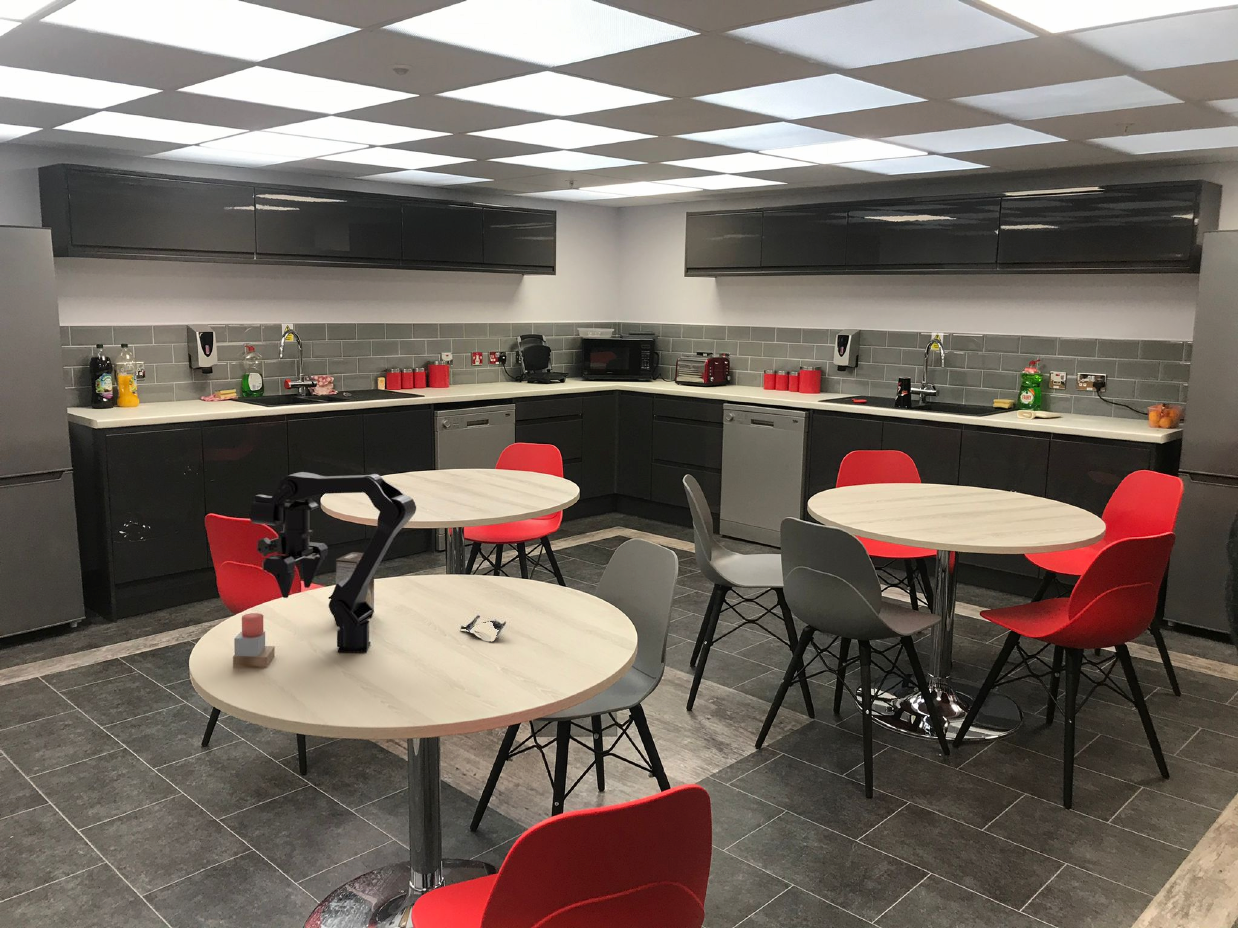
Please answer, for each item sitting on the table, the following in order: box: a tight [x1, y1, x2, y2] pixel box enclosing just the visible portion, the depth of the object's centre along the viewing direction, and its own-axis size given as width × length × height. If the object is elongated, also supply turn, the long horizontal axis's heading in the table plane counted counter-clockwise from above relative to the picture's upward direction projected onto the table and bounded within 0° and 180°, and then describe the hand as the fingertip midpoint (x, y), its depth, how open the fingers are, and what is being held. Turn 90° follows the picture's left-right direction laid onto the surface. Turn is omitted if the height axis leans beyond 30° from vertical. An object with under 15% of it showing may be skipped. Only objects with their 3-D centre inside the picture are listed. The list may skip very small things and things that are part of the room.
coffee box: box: [335, 551, 375, 611], centre depth 239 cm, size 9×6×16 cm
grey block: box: [233, 630, 266, 657], centre depth 203 cm, size 5×5×4 cm
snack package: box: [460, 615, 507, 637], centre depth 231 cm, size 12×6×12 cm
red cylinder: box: [241, 612, 264, 637], centre depth 203 cm, size 4×4×4 cm
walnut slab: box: [232, 645, 276, 669], centre depth 205 cm, size 7×7×3 cm
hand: (296, 592), depth 217 cm, fingers open, 9 cm apart
